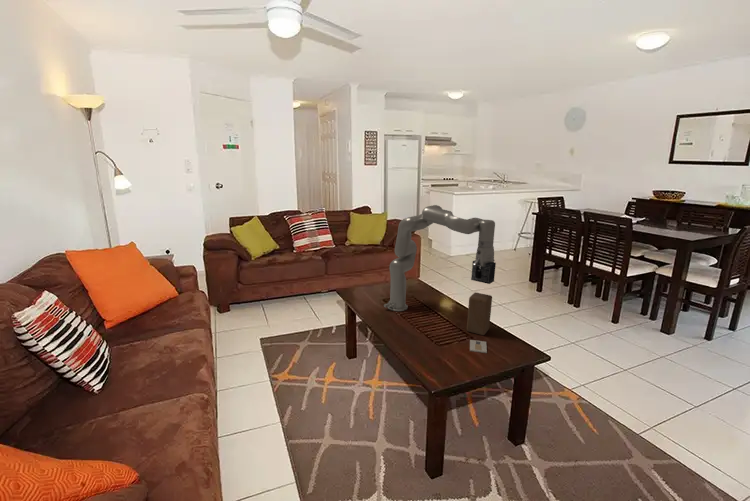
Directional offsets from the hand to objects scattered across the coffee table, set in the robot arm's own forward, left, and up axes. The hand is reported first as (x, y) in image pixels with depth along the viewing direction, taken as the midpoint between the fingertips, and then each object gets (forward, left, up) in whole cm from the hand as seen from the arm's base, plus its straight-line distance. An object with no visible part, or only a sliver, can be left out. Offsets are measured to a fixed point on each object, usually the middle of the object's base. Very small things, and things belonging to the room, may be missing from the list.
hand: (482, 276), depth 203 cm
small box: (0, 0, -3) cm, 3 cm away
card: (-15, -12, -31) cm, 36 cm away
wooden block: (0, 0, -31) cm, 31 cm away
